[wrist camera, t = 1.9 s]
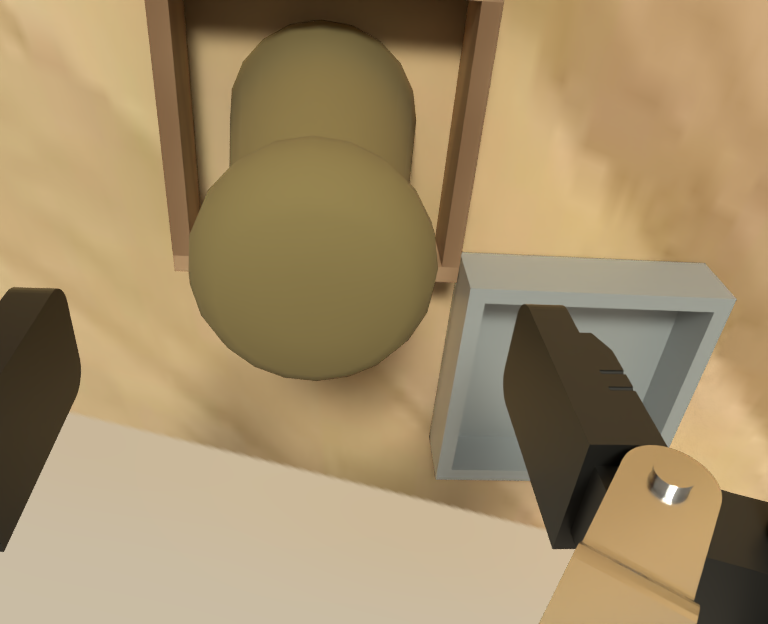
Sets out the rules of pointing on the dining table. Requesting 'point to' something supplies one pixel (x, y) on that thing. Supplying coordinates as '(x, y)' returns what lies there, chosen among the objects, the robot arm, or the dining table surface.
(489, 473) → the grey tray
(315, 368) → the olive pawn
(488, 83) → the walnut frame
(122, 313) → the dining table surface
